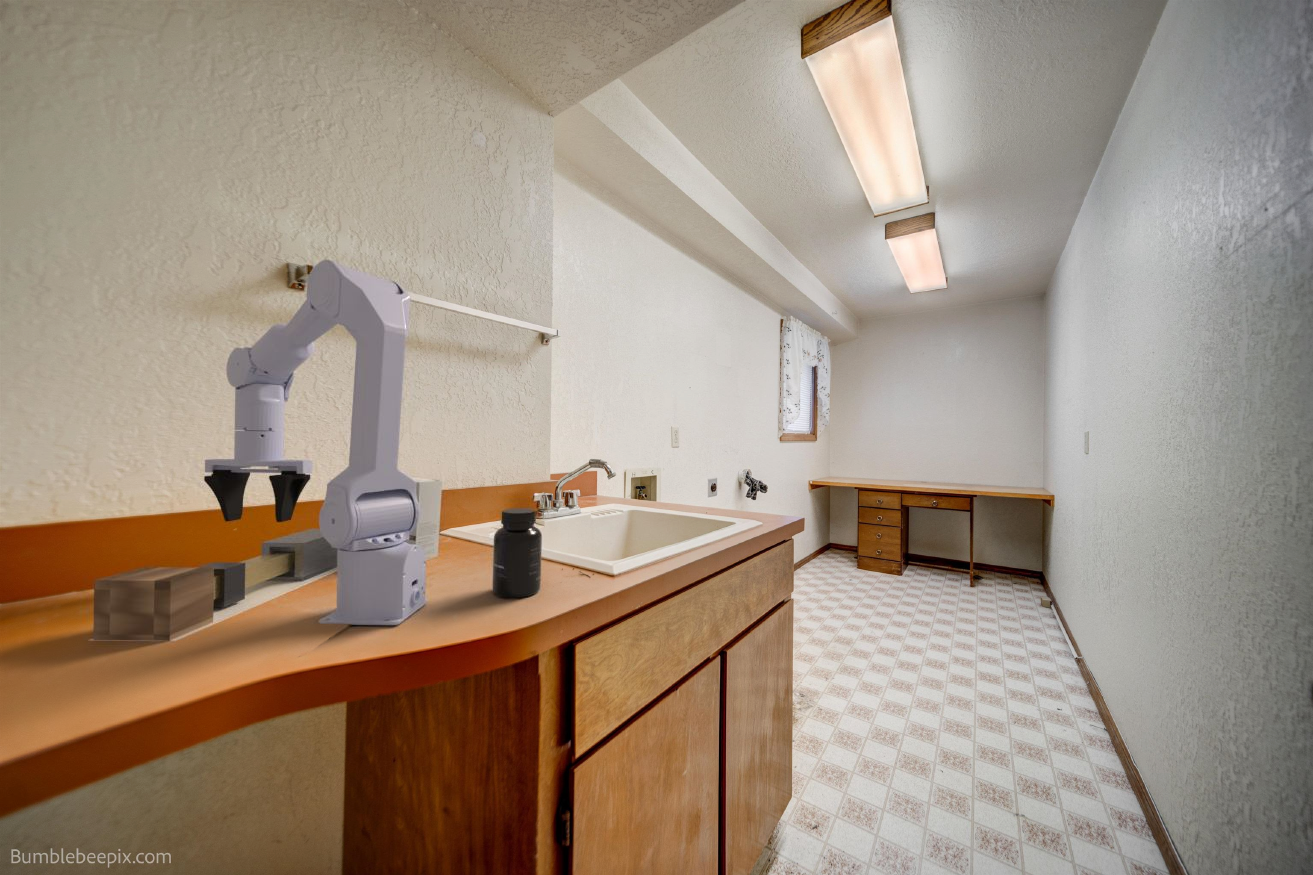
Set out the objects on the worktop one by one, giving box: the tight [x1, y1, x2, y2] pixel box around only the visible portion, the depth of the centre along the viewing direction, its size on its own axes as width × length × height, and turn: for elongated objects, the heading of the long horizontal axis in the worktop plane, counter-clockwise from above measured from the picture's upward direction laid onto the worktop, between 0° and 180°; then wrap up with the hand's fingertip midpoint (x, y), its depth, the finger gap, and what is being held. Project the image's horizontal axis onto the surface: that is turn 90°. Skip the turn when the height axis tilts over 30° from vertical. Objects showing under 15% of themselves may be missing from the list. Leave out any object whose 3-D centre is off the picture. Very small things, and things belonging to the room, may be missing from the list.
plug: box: [196, 551, 295, 607], centre depth 62 cm, size 4×19×5 cm, turn 1°
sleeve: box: [260, 528, 337, 581], centre depth 76 cm, size 6×10×6 cm, turn 1°
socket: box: [92, 566, 214, 642], centre depth 52 cm, size 8×5×6 cm, turn 91°
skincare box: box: [383, 476, 443, 561], centre depth 85 cm, size 8×6×15 cm
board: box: [88, 567, 337, 642], centre depth 65 cm, size 9×31×1 cm, turn 1°
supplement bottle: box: [492, 507, 543, 599], centre depth 69 cm, size 7×7×12 cm
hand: (258, 520), depth 71 cm, fingers open, 7 cm apart
